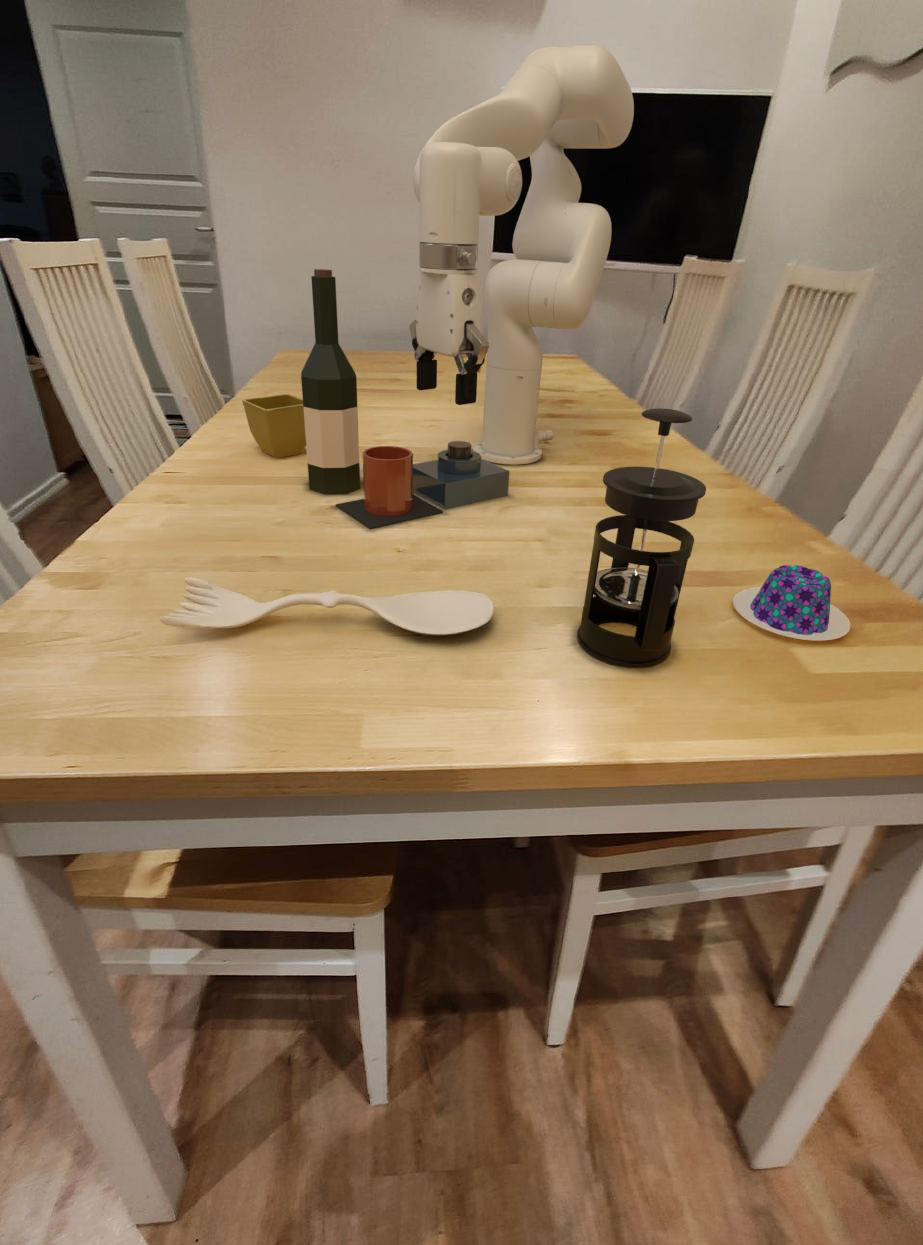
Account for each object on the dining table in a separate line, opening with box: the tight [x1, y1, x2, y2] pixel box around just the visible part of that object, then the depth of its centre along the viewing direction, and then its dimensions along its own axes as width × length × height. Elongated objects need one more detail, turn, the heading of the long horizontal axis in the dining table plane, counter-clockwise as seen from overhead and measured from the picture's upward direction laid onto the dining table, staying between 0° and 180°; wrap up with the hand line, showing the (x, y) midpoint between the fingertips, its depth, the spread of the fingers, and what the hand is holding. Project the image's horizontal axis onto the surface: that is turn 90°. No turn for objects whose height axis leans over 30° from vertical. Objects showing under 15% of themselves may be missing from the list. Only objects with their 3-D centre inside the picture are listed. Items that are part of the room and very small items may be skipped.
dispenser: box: [413, 449, 511, 511], centre depth 104 cm, size 12×10×6 cm
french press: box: [576, 407, 707, 669], centre depth 62 cm, size 12×9×23 cm
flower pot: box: [242, 393, 306, 459], centre depth 117 cm, size 9×9×9 cm
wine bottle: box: [300, 268, 361, 496], centre depth 98 cm, size 8×8×30 cm
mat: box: [335, 494, 444, 530], centre depth 98 cm, size 12×10×1 cm
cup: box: [362, 445, 414, 516], centre depth 95 cm, size 7×7×8 cm
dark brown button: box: [447, 440, 473, 459], centre depth 102 cm, size 4×4×2 cm
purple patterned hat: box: [732, 564, 851, 641], centre depth 73 cm, size 12×12×5 cm
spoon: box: [159, 576, 496, 636], centre depth 68 cm, size 9×32×4 cm, turn 94°
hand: (445, 396), depth 96 cm, fingers open, 9 cm apart
